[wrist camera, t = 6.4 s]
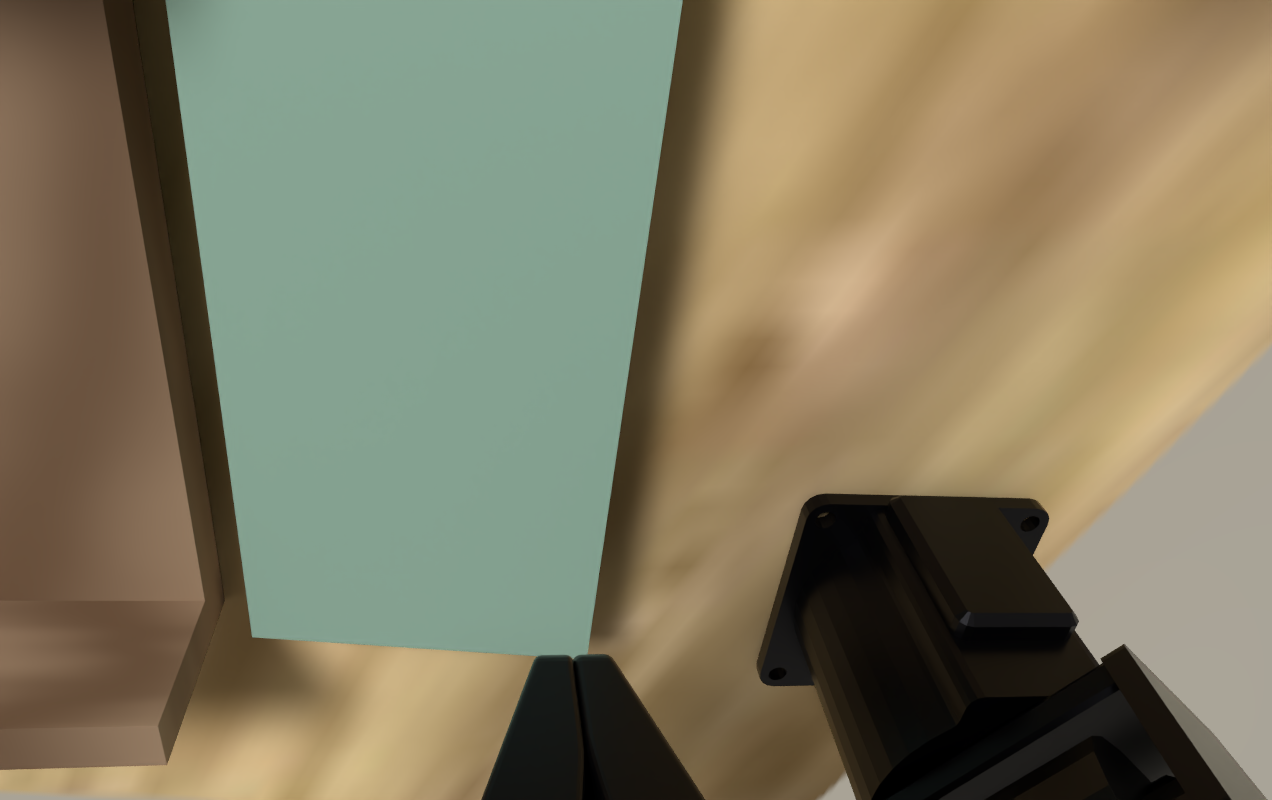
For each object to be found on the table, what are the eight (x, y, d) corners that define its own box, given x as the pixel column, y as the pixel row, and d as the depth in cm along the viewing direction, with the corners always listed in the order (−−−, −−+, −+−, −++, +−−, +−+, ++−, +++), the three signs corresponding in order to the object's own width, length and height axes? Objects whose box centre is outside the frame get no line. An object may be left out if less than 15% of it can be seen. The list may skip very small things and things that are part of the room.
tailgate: (252, 637, 20) (586, 659, 21) (134, -230, 12) (703, -143, 12) (266, 604, 21) (587, 627, 22) (165, -226, 12) (696, -144, 13)
